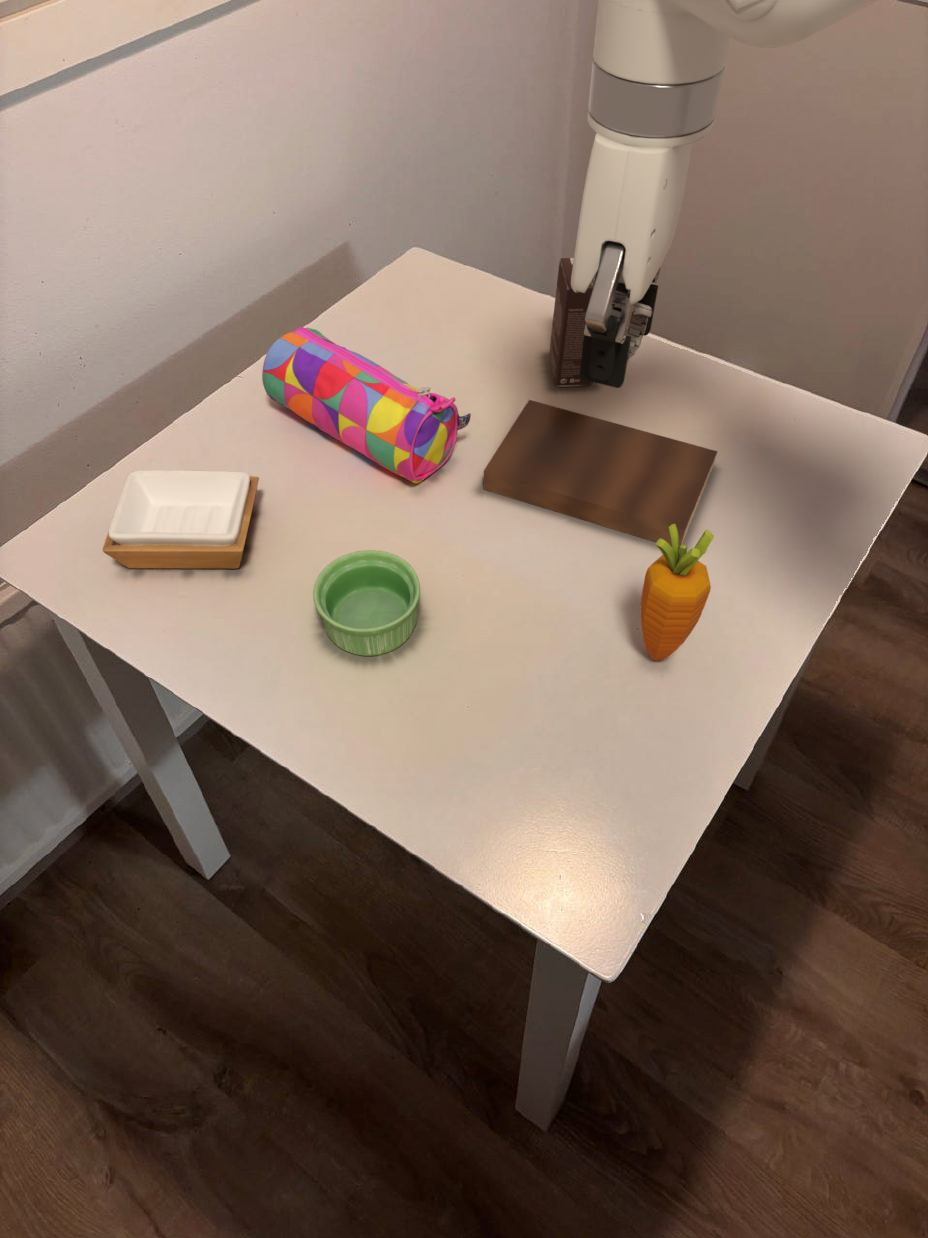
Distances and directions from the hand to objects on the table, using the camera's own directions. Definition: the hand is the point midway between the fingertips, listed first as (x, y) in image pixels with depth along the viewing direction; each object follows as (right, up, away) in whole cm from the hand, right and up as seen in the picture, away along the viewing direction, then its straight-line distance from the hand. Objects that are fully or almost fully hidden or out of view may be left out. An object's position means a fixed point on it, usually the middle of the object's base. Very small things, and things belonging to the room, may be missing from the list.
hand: (615, 353), depth 67 cm
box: (+1, +8, +34) cm, 35 cm away
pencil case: (-22, -1, +28) cm, 35 cm away
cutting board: (+2, -6, +23) cm, 24 cm away
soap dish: (-37, -12, +18) cm, 43 cm away
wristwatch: (0, 0, +1) cm, 1 cm away
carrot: (+5, -23, +9) cm, 25 cm away
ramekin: (-19, -20, +12) cm, 30 cm away
